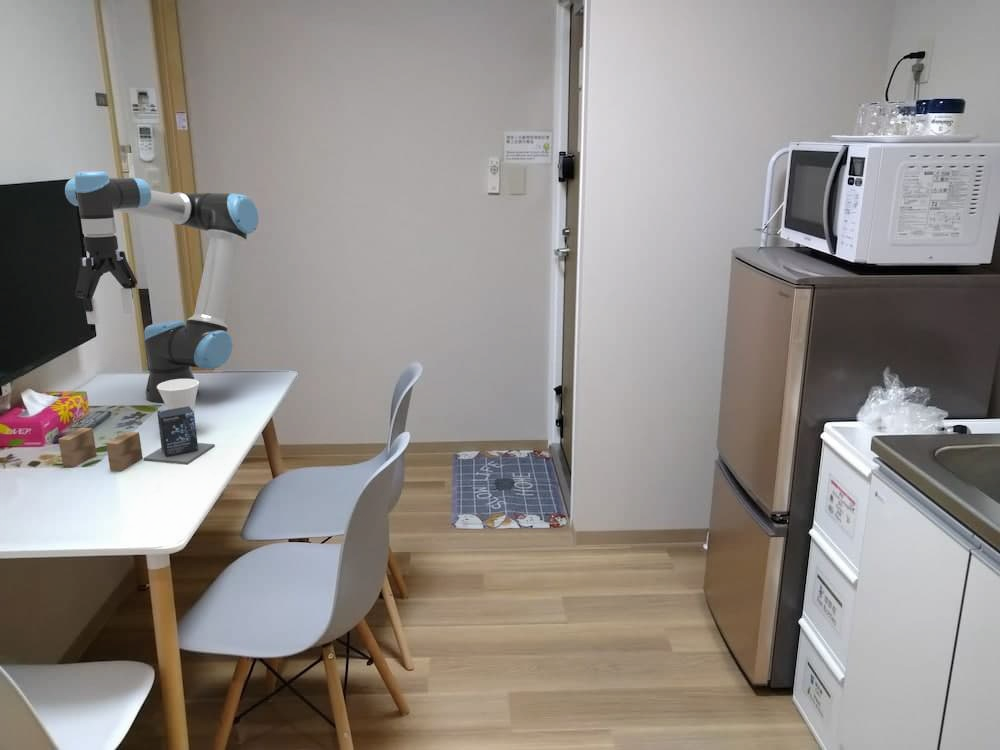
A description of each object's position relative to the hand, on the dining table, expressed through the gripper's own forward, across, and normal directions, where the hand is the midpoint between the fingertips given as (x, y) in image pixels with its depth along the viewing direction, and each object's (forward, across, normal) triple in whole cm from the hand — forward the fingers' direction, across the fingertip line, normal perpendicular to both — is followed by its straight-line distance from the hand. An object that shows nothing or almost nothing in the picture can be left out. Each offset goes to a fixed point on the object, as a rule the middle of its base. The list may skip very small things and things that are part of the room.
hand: (111, 318), depth 198 cm
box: (+31, +10, +22) cm, 39 cm away
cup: (+32, -4, +14) cm, 35 cm away
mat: (+32, +10, +22) cm, 40 cm away
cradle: (+32, +19, +7) cm, 38 cm away
